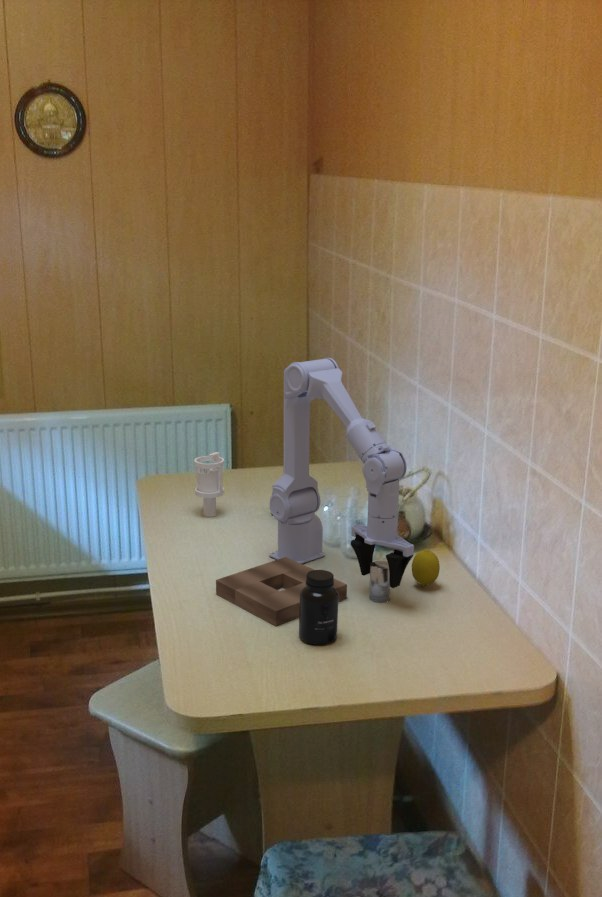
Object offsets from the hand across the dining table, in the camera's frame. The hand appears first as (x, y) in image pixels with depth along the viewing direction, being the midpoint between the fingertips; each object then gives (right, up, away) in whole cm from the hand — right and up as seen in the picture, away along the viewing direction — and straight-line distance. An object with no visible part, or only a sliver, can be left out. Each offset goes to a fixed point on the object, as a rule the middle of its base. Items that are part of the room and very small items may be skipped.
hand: (380, 580), depth 180 cm
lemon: (+9, -2, +7) cm, 12 cm away
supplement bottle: (-12, -8, -15) cm, 21 cm away
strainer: (-37, +9, +45) cm, 59 cm away
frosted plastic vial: (0, -4, +1) cm, 4 cm away
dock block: (-19, -3, +1) cm, 20 cm away
